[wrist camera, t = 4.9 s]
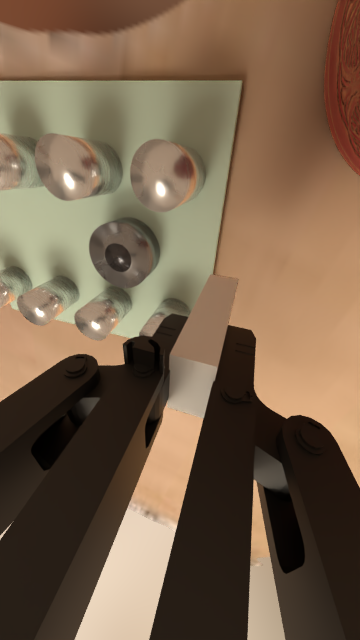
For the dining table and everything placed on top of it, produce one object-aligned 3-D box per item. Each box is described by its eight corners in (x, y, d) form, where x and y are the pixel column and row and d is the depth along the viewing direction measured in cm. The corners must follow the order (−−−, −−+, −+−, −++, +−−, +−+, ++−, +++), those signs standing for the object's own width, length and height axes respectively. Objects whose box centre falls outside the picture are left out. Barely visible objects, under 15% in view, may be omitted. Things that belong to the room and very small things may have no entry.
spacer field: (16, 306, 29) (12, 308, 28) (-76, 83, 17) (-85, 80, 17) (201, 351, 24) (200, 355, 23) (242, 83, 12) (242, 80, 12)
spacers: (13, 290, 26) (-25, 308, 23) (-51, 132, 18) (-125, 123, 15) (189, 330, 22) (175, 360, 19) (208, 147, 14) (191, 140, 10)
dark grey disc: (109, 271, 21) (94, 282, 19) (102, 213, 18) (83, 219, 16) (160, 281, 20) (149, 293, 18) (160, 221, 17) (147, 227, 15)
